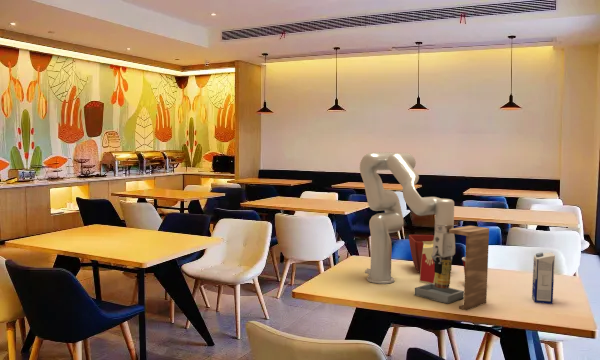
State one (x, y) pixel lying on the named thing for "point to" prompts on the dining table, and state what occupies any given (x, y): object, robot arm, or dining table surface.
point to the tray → (439, 293)
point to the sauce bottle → (444, 274)
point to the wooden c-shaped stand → (475, 265)
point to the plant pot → (418, 248)
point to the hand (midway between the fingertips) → (442, 271)
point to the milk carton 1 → (427, 264)
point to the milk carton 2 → (543, 278)
